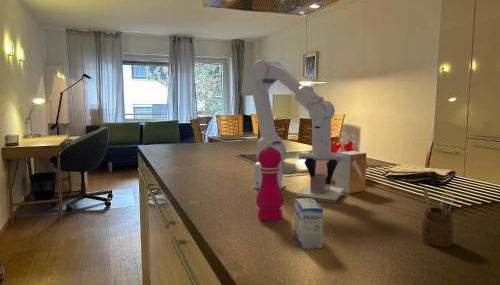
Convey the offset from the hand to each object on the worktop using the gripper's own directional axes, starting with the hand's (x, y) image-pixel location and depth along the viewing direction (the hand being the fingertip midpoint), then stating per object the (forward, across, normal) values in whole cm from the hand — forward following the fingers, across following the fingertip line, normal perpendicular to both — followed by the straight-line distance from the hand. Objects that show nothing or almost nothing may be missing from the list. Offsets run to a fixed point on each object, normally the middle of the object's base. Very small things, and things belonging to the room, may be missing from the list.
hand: (320, 183), depth 114 cm
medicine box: (+5, +7, -37) cm, 38 cm away
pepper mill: (+5, -7, -25) cm, 26 cm away
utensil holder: (+5, +32, -26) cm, 41 cm away
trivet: (+4, 0, 0) cm, 4 cm away
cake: (+5, -3, +32) cm, 32 cm away
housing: (+2, 0, -1) cm, 2 cm away
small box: (+5, +7, +12) cm, 15 cm away
